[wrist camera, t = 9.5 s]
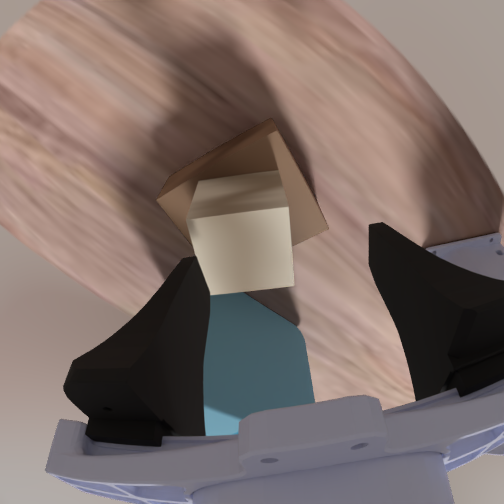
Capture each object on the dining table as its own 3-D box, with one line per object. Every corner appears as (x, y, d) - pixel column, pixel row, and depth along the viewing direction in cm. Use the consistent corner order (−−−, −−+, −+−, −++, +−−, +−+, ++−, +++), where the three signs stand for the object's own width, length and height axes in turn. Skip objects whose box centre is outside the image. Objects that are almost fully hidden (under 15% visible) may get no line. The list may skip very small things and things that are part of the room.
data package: (172, 295, 27) (146, 419, 18) (202, 264, 26) (183, 397, 16) (271, 351, 32) (279, 459, 22) (304, 329, 30) (322, 443, 20)
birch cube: (278, 170, 17) (288, 206, 14) (285, 238, 20) (294, 285, 16) (198, 181, 18) (185, 220, 14) (213, 246, 20) (207, 295, 17)
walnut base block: (271, 116, 19) (276, 130, 16) (316, 200, 23) (329, 228, 20) (169, 175, 22) (156, 200, 18) (222, 247, 25) (219, 280, 22)
